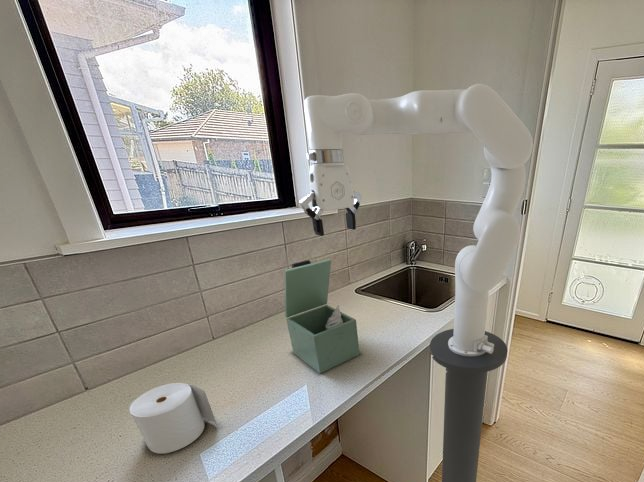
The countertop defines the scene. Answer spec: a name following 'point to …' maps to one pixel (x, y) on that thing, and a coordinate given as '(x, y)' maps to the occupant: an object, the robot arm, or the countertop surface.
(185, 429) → the toilet tissue
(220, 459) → the countertop surface
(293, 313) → the bin lid
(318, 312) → the bin
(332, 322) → the ice cream cone
